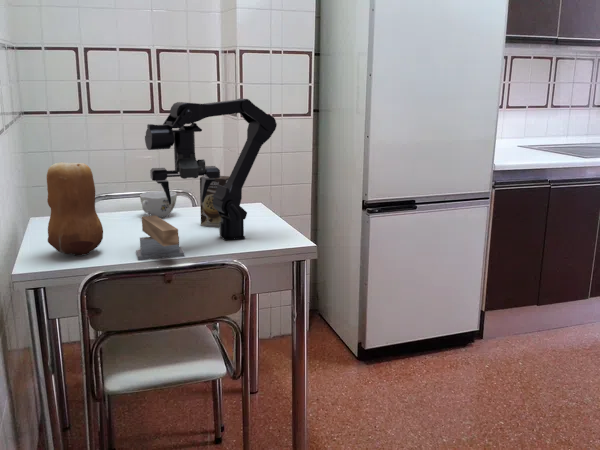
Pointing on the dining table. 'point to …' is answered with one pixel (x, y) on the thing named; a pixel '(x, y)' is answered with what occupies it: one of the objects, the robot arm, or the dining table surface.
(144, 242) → the ridge
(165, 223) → the batten
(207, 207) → the coffee box
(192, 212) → the dining table surface
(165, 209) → the teacup
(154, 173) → the robot arm
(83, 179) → the butternut squash
